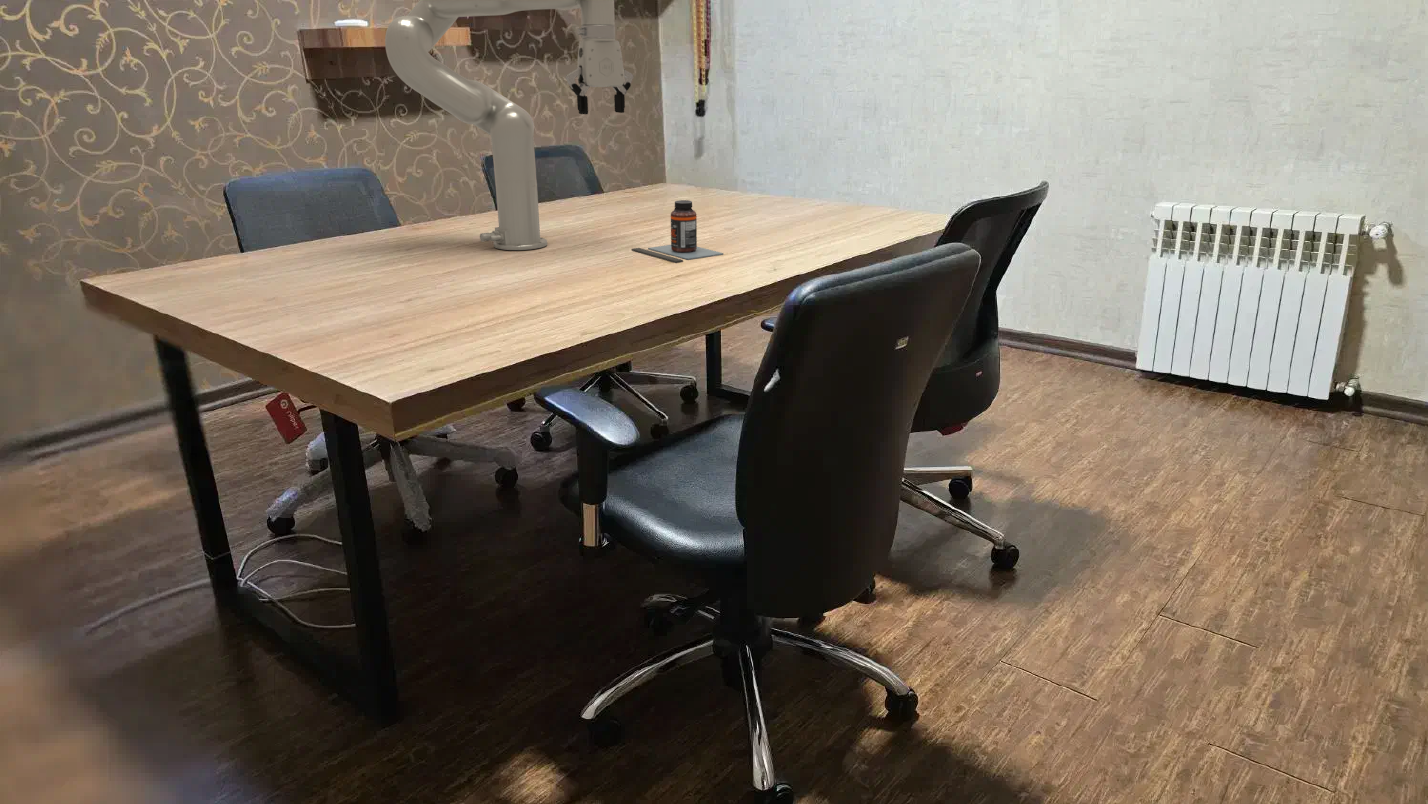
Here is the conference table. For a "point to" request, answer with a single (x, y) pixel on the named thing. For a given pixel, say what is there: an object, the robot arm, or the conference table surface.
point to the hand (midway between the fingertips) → (601, 113)
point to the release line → (657, 255)
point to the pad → (689, 255)
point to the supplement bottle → (683, 227)
